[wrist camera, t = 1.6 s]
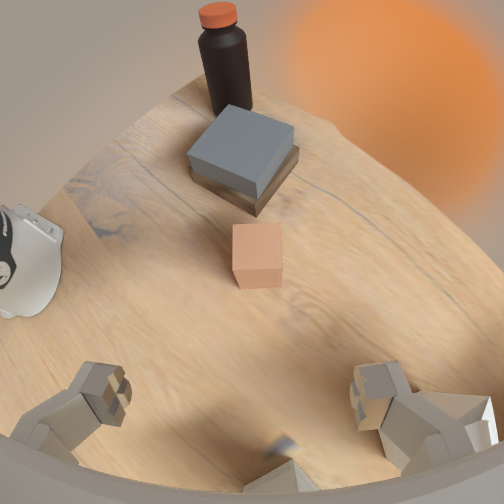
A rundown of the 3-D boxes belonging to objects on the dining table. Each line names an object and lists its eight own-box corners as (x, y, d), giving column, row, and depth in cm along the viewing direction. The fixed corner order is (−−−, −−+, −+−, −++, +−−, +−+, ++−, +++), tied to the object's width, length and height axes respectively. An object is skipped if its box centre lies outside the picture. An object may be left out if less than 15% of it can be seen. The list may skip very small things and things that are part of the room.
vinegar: (255, 118, 48) (245, 14, 30) (214, 123, 48) (190, 22, 30) (250, 93, 51) (240, -4, 32) (212, 98, 51) (192, 4, 32)
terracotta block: (240, 288, 39) (232, 270, 31) (240, 250, 40) (232, 224, 33) (280, 287, 38) (282, 268, 31) (279, 249, 40) (280, 222, 33)
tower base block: (194, 183, 45) (188, 168, 41) (238, 135, 48) (235, 118, 44) (256, 219, 42) (254, 204, 39) (297, 164, 45) (299, 147, 41)
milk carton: (420, 389, 32) (518, 396, 15) (433, 434, 30) (526, 463, 12) (372, 414, 32) (451, 447, 14) (386, 459, 30) (463, 514, 12)
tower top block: (193, 171, 41) (186, 153, 37) (231, 123, 44) (228, 104, 40) (257, 200, 39) (256, 182, 35) (292, 146, 42) (294, 126, 38)
